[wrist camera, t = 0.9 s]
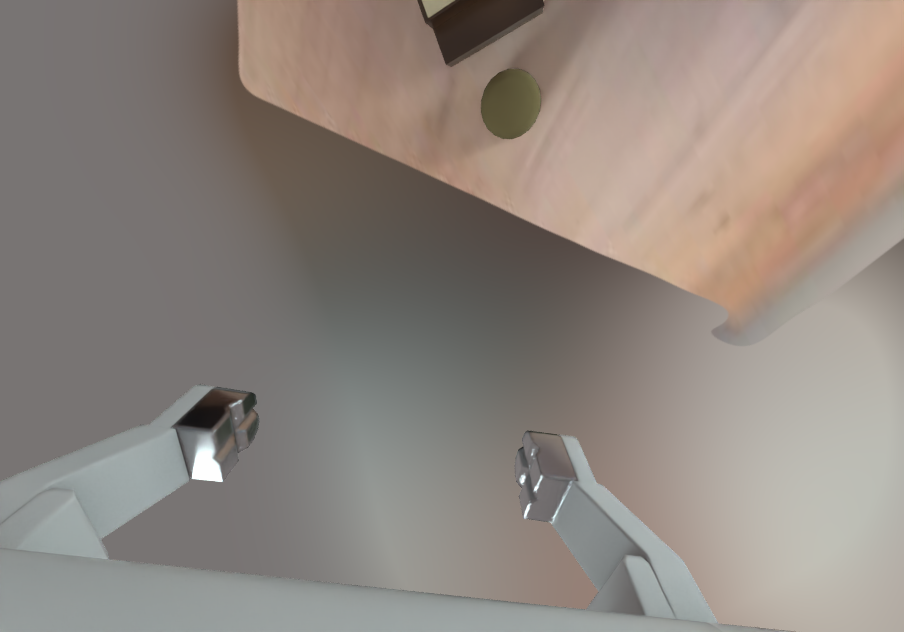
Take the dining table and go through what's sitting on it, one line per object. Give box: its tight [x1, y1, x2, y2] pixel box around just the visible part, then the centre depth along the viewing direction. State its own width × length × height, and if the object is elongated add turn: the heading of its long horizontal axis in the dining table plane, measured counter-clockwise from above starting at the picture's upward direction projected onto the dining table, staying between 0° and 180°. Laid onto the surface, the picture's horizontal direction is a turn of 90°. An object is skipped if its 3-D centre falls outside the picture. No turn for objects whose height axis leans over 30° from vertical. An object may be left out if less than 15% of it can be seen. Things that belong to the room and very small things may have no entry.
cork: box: [481, 69, 541, 139], centre depth 32 cm, size 6×6×11 cm
